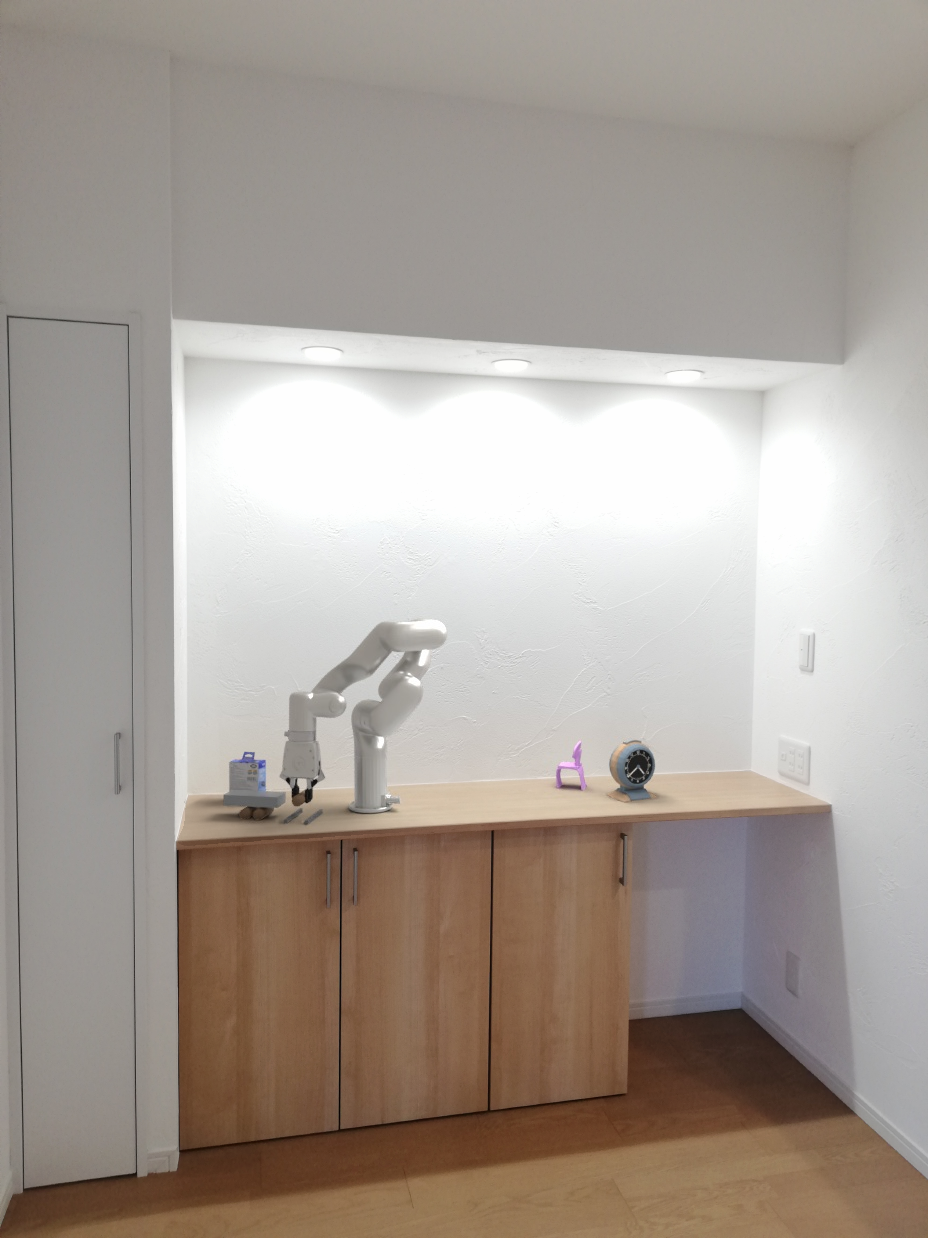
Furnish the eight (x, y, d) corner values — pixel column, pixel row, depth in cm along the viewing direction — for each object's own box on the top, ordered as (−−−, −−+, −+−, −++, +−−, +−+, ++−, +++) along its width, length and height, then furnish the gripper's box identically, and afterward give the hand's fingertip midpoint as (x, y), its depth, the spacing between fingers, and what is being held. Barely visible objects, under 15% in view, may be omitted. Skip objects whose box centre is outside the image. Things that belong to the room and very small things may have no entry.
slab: (285, 802, 250) (285, 792, 250) (277, 808, 244) (277, 797, 244) (232, 800, 253) (232, 789, 253) (223, 805, 247) (223, 794, 247)
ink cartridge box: (267, 799, 267) (266, 751, 266) (259, 803, 262) (258, 755, 261) (236, 797, 269) (236, 750, 268) (228, 802, 264) (227, 754, 263)
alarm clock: (621, 802, 262) (621, 744, 262) (603, 795, 271) (603, 738, 271) (660, 798, 268) (661, 740, 267) (641, 790, 277) (642, 735, 276)
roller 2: (273, 802, 252) (263, 802, 252) (262, 809, 244) (252, 810, 244) (274, 812, 252) (264, 813, 252) (263, 820, 244) (253, 820, 245)
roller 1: (249, 810, 253) (259, 813, 253) (238, 817, 245) (247, 821, 245) (252, 800, 253) (262, 804, 252) (240, 807, 245) (250, 811, 244)
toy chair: (560, 783, 287) (560, 737, 287) (587, 785, 284) (587, 739, 284) (554, 789, 280) (554, 742, 279) (581, 791, 277) (582, 744, 276)
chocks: (322, 812, 251) (322, 809, 251) (307, 824, 240) (307, 820, 239) (300, 811, 253) (299, 808, 252) (284, 823, 241) (284, 819, 241)
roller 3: (302, 806, 241) (302, 796, 241) (291, 806, 242) (291, 795, 242) (312, 800, 249) (312, 789, 249) (302, 799, 250) (302, 789, 250)
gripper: (269, 737, 243) (269, 803, 243) (326, 740, 240) (325, 807, 240) (280, 733, 250) (279, 797, 251) (335, 735, 247) (334, 800, 248)
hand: (302, 801), depth 246 cm, fingers closed on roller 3, 3 cm apart
